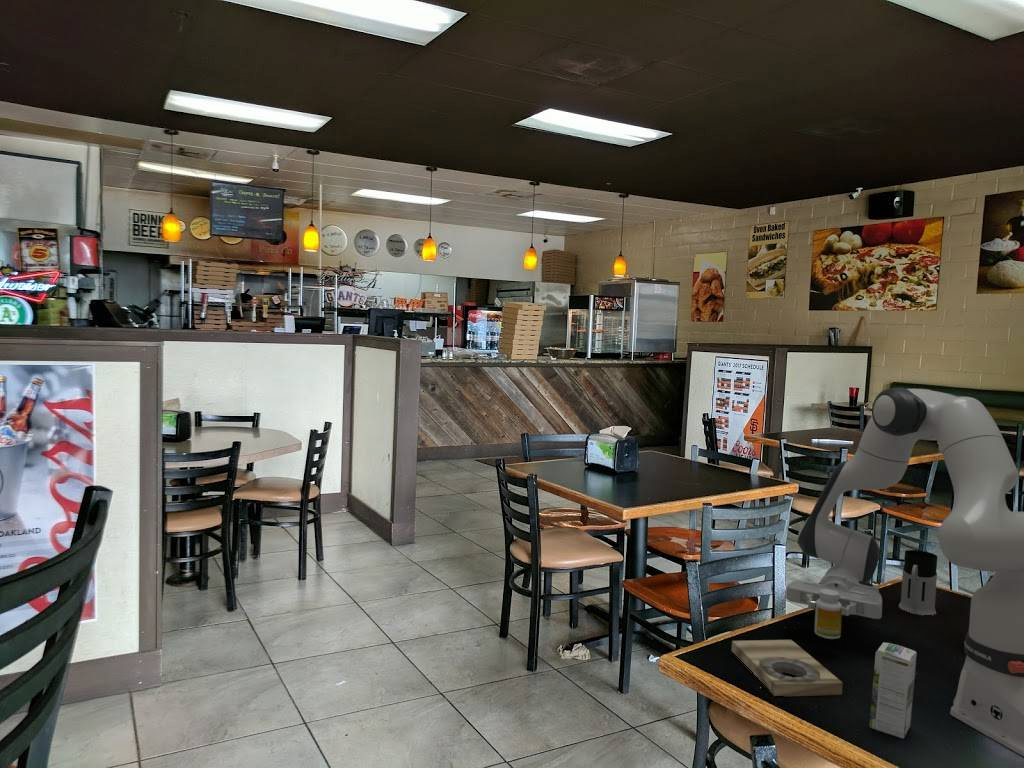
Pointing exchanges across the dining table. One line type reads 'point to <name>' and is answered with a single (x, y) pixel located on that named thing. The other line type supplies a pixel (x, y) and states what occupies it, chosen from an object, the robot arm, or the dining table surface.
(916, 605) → the glass holder
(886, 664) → the syrup box
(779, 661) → the plate
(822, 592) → the supplement bottle
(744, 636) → the dining table surface
